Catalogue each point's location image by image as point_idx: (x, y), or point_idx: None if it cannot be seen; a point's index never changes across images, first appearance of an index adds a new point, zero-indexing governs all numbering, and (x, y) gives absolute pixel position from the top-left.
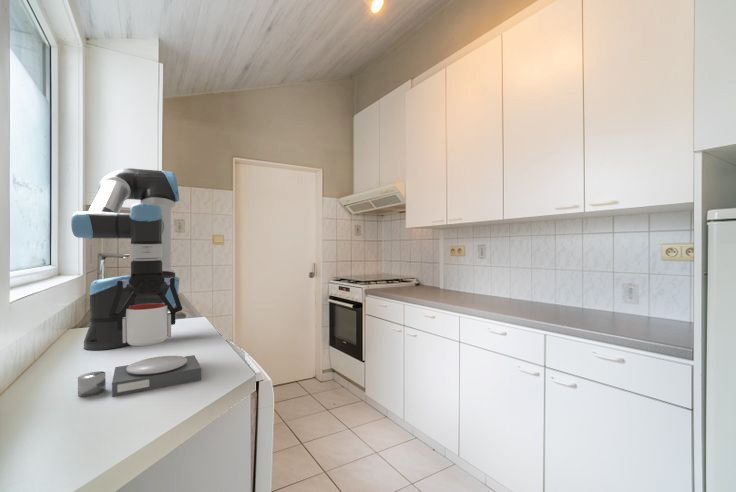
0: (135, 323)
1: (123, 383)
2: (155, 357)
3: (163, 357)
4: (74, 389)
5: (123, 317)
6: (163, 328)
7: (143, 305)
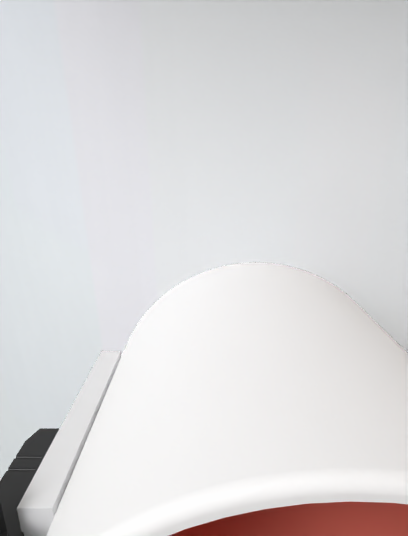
0: None
1: None
2: None
3: None
4: None
5: (28, 526)
6: (369, 523)
7: (275, 482)
